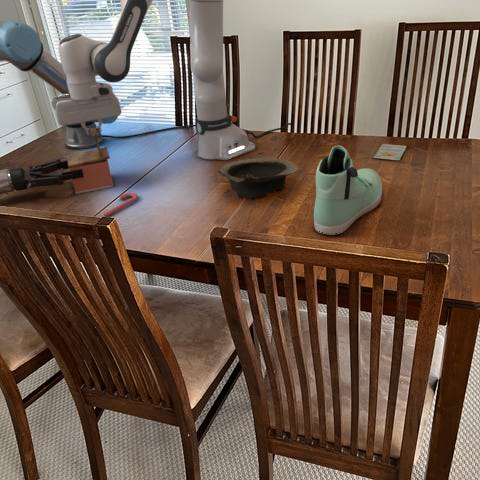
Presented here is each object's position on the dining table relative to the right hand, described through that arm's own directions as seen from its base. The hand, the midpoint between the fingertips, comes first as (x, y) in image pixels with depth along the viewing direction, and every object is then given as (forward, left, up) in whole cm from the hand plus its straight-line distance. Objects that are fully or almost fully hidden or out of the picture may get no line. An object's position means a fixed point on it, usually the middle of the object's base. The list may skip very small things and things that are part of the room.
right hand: (94, 133), depth 158 cm
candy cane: (+1, +22, -18) cm, 28 cm away
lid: (+4, -1, -8) cm, 9 cm away
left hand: (+7, -1, -11) cm, 13 cm away
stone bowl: (-40, +37, -18) cm, 57 cm away
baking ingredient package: (-94, +40, -18) cm, 103 cm away
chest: (+4, -1, -18) cm, 18 cm away
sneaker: (-54, +64, -18) cm, 86 cm away
